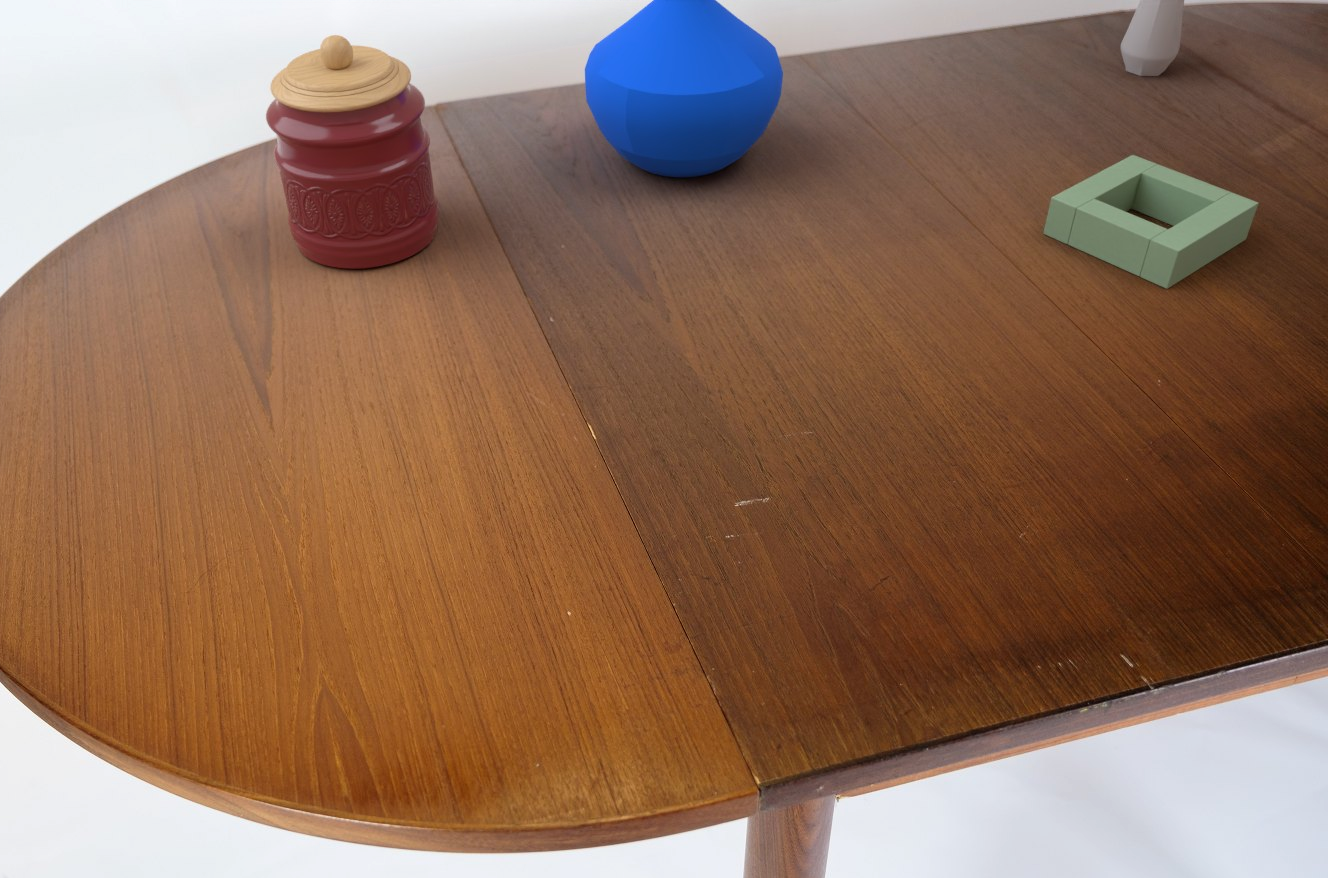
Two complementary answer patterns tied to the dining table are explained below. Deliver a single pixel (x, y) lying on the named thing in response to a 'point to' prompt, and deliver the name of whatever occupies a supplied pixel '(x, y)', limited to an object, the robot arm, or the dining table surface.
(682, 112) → the vase
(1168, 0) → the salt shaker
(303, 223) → the kitchen canister
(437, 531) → the dining table surface
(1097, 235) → the pad socket
